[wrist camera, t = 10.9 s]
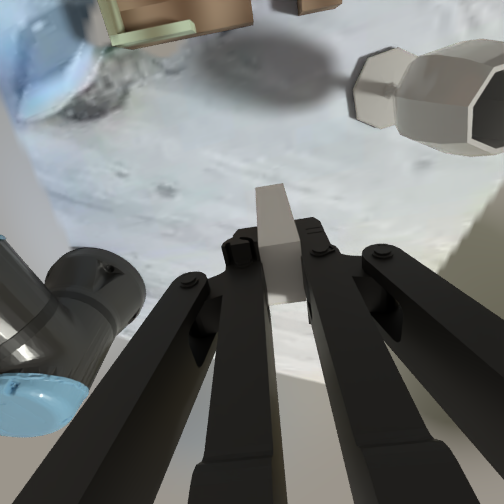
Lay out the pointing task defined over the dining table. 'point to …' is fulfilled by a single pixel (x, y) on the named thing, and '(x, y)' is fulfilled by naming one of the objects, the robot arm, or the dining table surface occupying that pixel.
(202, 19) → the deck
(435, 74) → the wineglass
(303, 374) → the dining table surface
